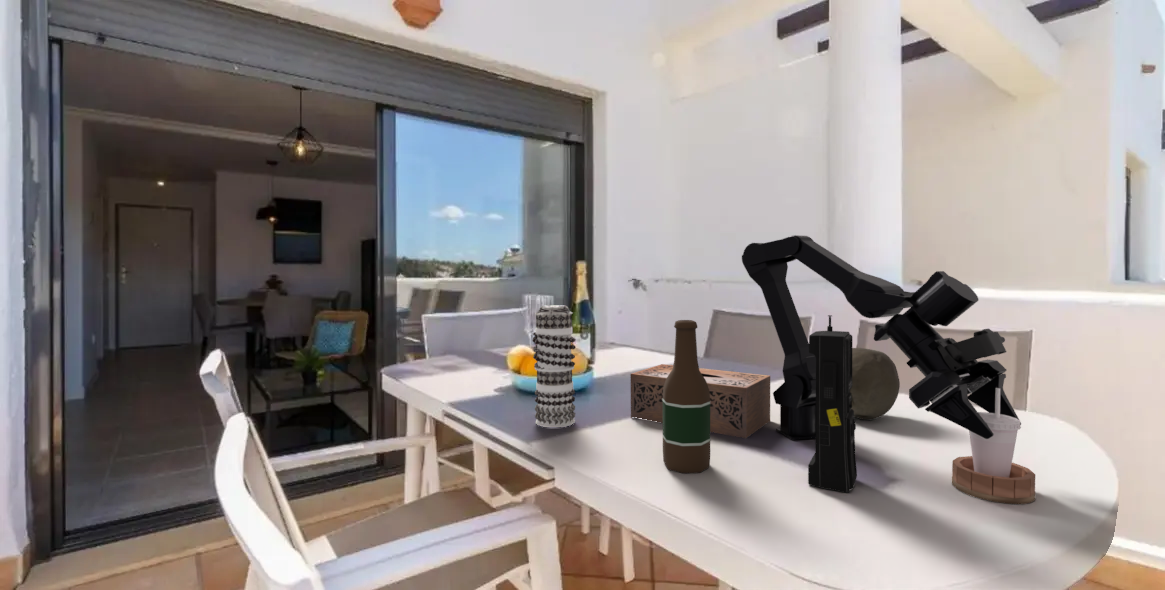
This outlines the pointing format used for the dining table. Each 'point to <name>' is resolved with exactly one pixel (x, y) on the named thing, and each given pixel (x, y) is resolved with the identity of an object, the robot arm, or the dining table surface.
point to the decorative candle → (554, 366)
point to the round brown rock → (873, 383)
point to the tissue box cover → (732, 398)
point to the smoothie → (995, 443)
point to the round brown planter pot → (994, 483)
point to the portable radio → (833, 412)
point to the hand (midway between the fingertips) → (1004, 431)
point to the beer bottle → (686, 407)
